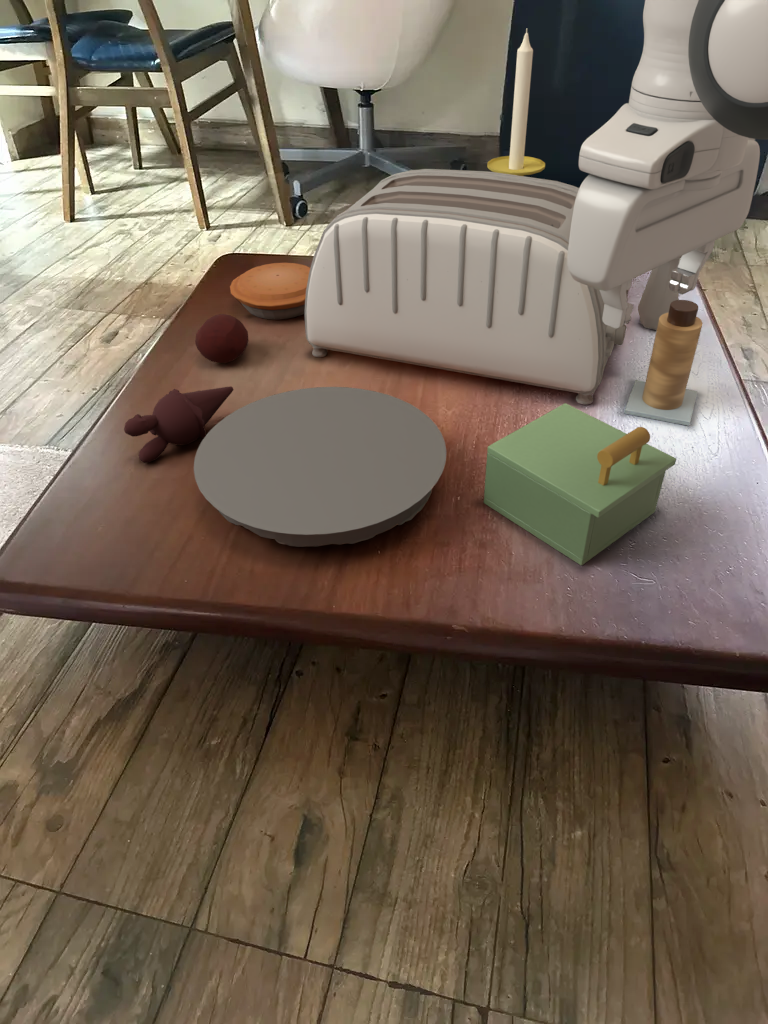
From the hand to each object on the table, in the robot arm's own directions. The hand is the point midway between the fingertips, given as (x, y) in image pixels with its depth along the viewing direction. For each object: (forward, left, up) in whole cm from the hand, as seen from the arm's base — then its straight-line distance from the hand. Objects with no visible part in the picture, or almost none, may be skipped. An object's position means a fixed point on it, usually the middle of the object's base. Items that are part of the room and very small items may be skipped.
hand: (649, 306), depth 67 cm
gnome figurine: (+51, +2, -25) cm, 57 cm away
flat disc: (+31, +4, -25) cm, 40 cm away
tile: (-2, -27, -25) cm, 37 cm away
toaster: (+25, -32, -25) cm, 48 cm away
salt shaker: (+2, -50, -25) cm, 56 cm away
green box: (+4, -2, -25) cm, 26 cm away
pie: (+59, -36, -25) cm, 74 cm away
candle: (+26, -52, -25) cm, 64 cm away
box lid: (+4, -2, -18) cm, 19 cm away
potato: (+58, -18, -25) cm, 66 cm away
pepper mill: (-2, -27, -24) cm, 37 cm away
